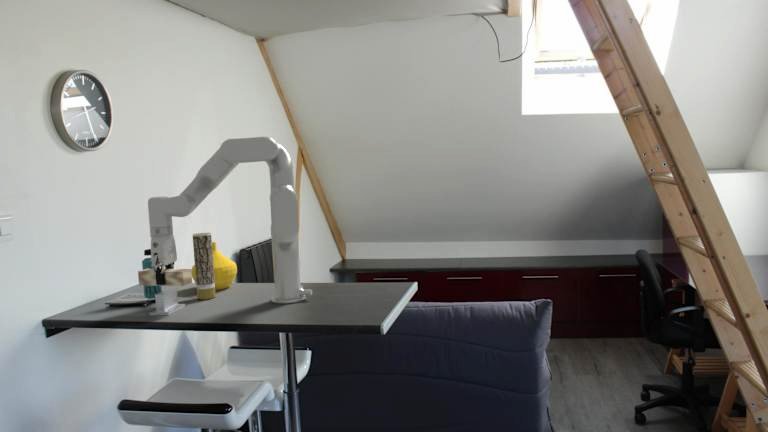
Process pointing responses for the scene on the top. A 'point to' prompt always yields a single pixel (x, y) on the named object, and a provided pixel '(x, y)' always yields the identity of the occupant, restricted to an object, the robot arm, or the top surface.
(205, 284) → the brown bark cylinder
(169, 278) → the beam
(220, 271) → the vase
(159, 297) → the fulcrum
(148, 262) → the beverage bottle
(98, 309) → the top surface
